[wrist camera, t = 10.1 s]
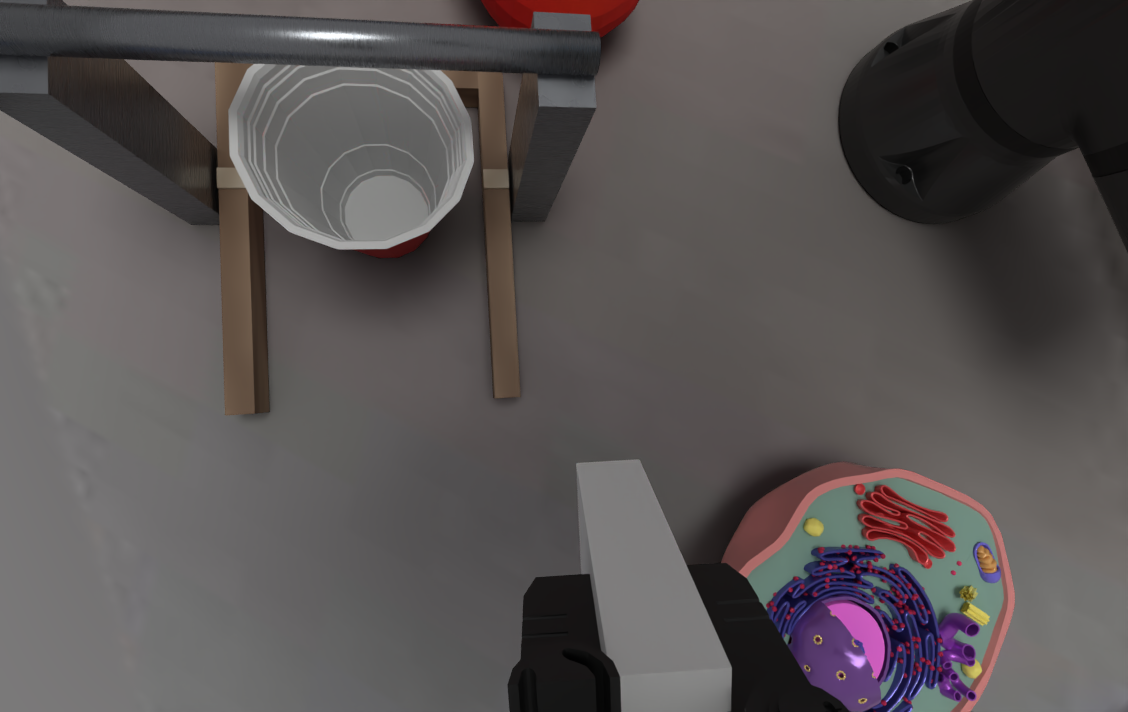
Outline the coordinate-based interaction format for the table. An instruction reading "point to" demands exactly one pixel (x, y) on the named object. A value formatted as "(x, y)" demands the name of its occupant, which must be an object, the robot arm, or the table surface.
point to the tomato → (561, 11)
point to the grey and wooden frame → (237, 41)
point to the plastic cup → (352, 152)
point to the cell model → (880, 585)
